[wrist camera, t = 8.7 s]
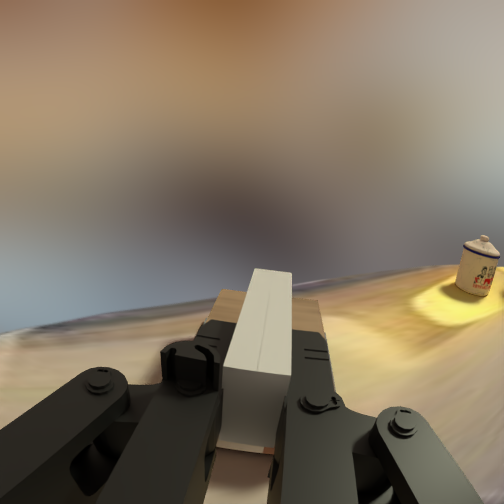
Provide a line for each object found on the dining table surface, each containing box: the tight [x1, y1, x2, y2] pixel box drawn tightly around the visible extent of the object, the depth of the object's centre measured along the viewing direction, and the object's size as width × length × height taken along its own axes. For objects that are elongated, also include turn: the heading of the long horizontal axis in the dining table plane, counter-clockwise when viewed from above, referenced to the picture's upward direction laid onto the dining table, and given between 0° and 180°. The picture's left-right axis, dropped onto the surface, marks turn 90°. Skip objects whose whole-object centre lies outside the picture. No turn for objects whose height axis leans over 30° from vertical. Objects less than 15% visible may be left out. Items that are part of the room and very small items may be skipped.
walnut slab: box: [206, 289, 335, 454], centre depth 25 cm, size 5×10×16 cm
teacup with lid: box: [455, 235, 500, 296], centre depth 53 cm, size 12×9×12 cm
